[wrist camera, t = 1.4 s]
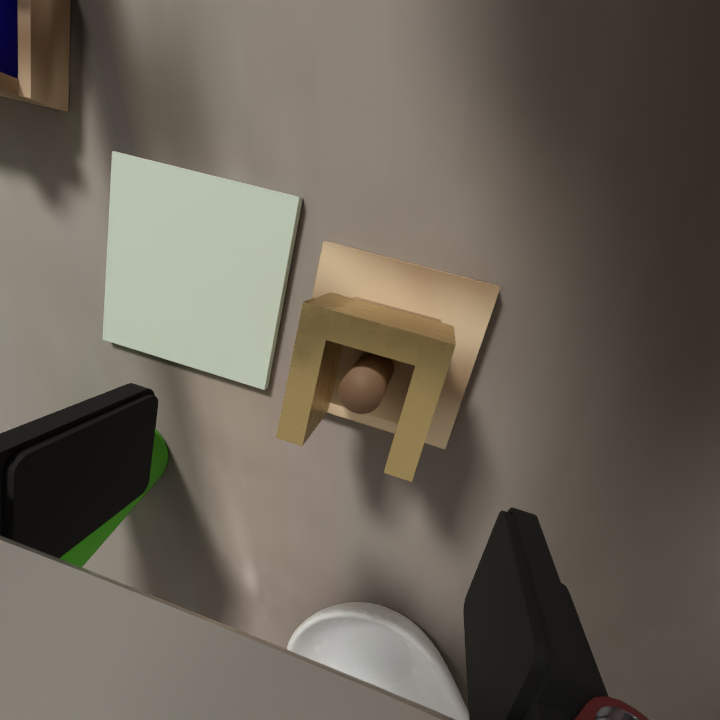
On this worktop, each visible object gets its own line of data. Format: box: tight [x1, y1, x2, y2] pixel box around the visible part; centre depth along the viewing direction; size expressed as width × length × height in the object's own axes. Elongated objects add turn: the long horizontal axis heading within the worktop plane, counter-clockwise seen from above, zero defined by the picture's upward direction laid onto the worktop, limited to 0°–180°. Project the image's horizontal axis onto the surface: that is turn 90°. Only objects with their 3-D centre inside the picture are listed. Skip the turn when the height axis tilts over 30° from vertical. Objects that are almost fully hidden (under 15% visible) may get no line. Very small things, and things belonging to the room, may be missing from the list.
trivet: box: [103, 151, 303, 390], centre depth 26 cm, size 12×12×1 cm
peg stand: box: [312, 241, 500, 449], centre depth 21 cm, size 10×10×9 cm
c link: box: [276, 292, 456, 482], centre depth 18 cm, size 6×6×4 cm
